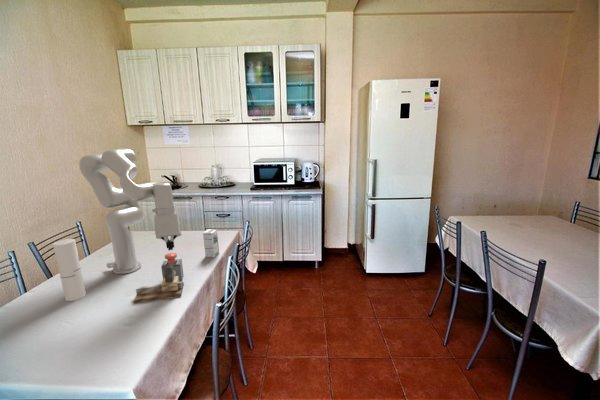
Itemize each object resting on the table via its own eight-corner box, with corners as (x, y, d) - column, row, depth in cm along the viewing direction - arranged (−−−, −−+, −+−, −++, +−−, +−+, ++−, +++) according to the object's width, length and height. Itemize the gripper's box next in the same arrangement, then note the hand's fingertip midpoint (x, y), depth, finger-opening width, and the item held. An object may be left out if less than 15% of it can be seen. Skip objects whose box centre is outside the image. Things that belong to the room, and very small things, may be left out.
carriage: (162, 292, 125) (159, 270, 123) (164, 285, 131) (161, 264, 128) (177, 290, 127) (174, 268, 124) (179, 283, 132) (176, 262, 130)
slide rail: (134, 303, 121) (133, 294, 120) (140, 290, 130) (139, 282, 129) (181, 296, 125) (180, 287, 125) (183, 284, 135) (182, 276, 134)
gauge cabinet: (163, 284, 135) (161, 266, 133) (165, 278, 141) (163, 261, 139) (182, 282, 137) (180, 264, 135) (183, 276, 143) (181, 258, 141)
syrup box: (214, 257, 164) (212, 232, 160) (204, 256, 165) (202, 232, 162) (219, 253, 169) (217, 229, 166) (209, 252, 170) (207, 228, 167)
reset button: (165, 270, 135) (163, 258, 133) (167, 265, 140) (165, 253, 138) (177, 269, 136) (176, 256, 135) (178, 264, 141) (177, 252, 139)
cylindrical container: (89, 293, 129) (79, 239, 123) (73, 302, 122) (60, 246, 116) (78, 290, 131) (67, 238, 125) (61, 299, 125) (48, 244, 119)
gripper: (145, 214, 126) (151, 254, 130) (182, 211, 130) (187, 249, 134) (149, 210, 133) (154, 248, 137) (184, 207, 137) (188, 244, 141)
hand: (170, 249), depth 135 cm, fingers closed
